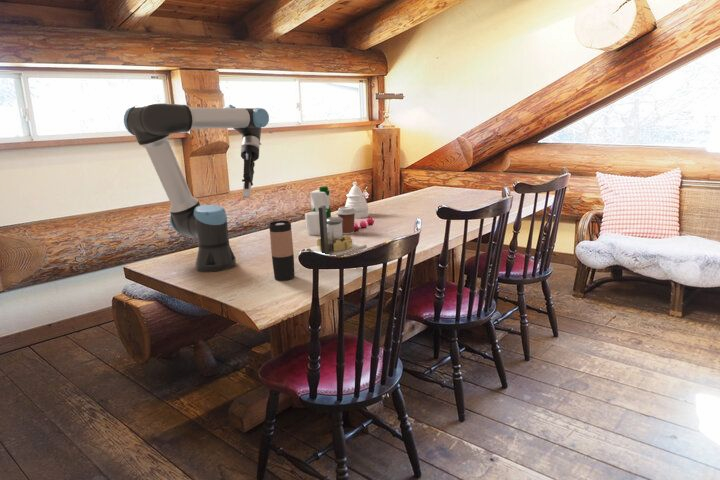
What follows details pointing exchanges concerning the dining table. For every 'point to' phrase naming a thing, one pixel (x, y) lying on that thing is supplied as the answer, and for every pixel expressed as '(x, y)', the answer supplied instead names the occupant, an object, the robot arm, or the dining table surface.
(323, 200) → the milk carton
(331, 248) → the grey and gold stand
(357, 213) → the honey pot
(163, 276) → the dining table surface
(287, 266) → the travel mug
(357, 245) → the base plate
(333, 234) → the white lidded jar
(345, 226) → the coffee cup
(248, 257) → the dining table surface
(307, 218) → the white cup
